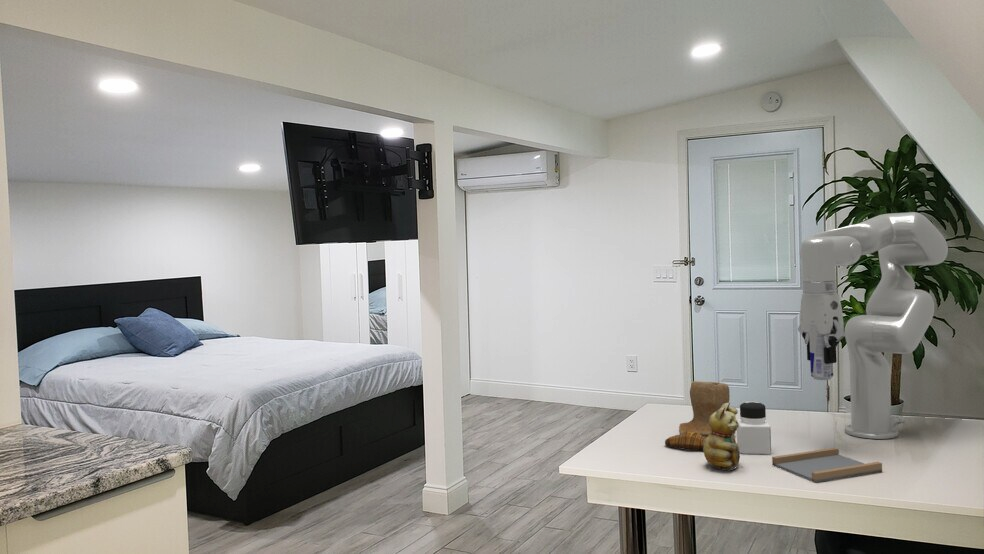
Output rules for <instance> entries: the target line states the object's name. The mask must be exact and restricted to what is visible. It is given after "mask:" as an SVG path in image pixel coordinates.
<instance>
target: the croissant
mask: <svg viewBox="0 0 984 554" xmlns="http://www.w3.org/2000/svg"><path fill="white" fill-rule="evenodd" d="M706 438H707V437H704V436H702V435H700V434H699V433H696V432H694V431H692V430H690V431H687V432H684V433H682V434H680V433H679V434H675V435H673V436H670V437H668V438H666V439H665V440H664V445H665V446H666V447H669V448H674V449H679V450H680V449H682V450H688V451H703V448H704V443H705V440H706Z"/></svg>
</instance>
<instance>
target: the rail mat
mask: <svg viewBox="0 0 984 554" xmlns="http://www.w3.org/2000/svg"><path fill="white" fill-rule="evenodd" d="M839 451H840V450H839V448H837V447H831V448H823V449H817V450H810V451H808V450H807V451H804V452H796V453H789V454H782V455H776V456H774V455H773V456H772V457H771V464H772V466H773V465H774V466H773V467H775V466H776V468H778V469H780V468H781V469H780V470H782V471H785V470H786V472H788V473H790V474H793V475H796V476H798V477H800V478H803V479H805V480H807V481H810V482H813V483H814V484H815V483H816V484H819V483H822V482H829V481H830V482H831V481H837V480H841V479H849V478H854V477H859V476H860V477H861V476H866V475H873V474H878V473H879V474H880V473H883V463H882V462H881V461H875V462H874V461H873V462H867V463H865V462H861V461H858V460H855V459H853V458H850V457H847V456H844V455H841V454H840V453H839Z"/></svg>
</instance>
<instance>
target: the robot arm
mask: <svg viewBox="0 0 984 554" xmlns="http://www.w3.org/2000/svg"><path fill="white" fill-rule="evenodd" d="M875 252H878V260H879V266H880V271H881V279H880V281H879V282H878V284H877V286H876V287H875V289H874V291H873V292H872V294H871V295H870V297H869V299H868V301H867V303H866V306H865V307H866V308H865V314H860V315H855V316H853V317H850V319H849V320H847V322H846V323H845V326H844V316H843V315H844V314H843V308H842V302H841V299H840V295H839V293H837V289H838V285H837V280H836V279H837V278H836V274H837V273H836V267H847V266H851V265H854V264H855V263H857V262H858V261H859V260H860V258H861V256H864V255H870V254H873V253H875ZM948 252H949V247H948V243H947V241H946V239H945V237H944V236H943V234H942V233H941V232H940V231H939V230H938V228H937V227H936V225H934V224H933V223H932V222H931V221H930V219H929V218H927V217H926V216H925V215H923V214H921V213H919V212H915V211H909V212H895V213H894V212H893V213H885V214H878V215H877V216H873V217H871V218H868V219H866V220H864V221H861V222H859V223H855V224H851V225H846V226H842V227H839V228H835V229H830V230H825V231H821V232H818V233H815V234H813V235H810V236H808V237H806V238H805V239H804V240H803V241H802V242H801V244H800V248H799V257H800V259H801V278H802V279H801V280H802V284H801V285H802V293H801V300H800V311H799V312H800V314H799V315H800V316H799V319H800V320H799V321H800V322H799V323H800V324H799V326H798V328H797V331H798V332H799V333H800V335H801V337H802V338H803V339H804V344H805V345H806V358H807V361H810V339H809V323H810V322H811V321H810V320H815V321H813V322H815V323H816V326H817V329H818V332H819V334H821V335H823V337H824V341H825V345H826V347H824V363H825V364H830V363H833V364H836V363H837V361H838V360H837V347H838V346H839V343H840V342H841V341H842V340H843V338H845V342H846V345H847V350H848V358H849V359H848V360H849V383H850V385H849V388H850V421H851V422H850V424H848V425H846V426H844V431H845V433H846V434H848V435H849V436H853V437H857V438H863V439H874V440H886V439H887V440H888V439H893V438H896V437H899V430H898V429H897V428H895V426H896V425H903V424H905V422H906V418H905V417H904V416H902V415H901V416H894V415H892V396H891V392H892V391H891V390H892V389H891V388H892V387H891V368H890V365H889V362H888V360H887V359H886V357H885V355H884V354H883V353H886V354H887V353H888V354H900V355H905V354H907V355H908V354H910V353H913V352H914V351H915V350H916V349H917V348H918V346H919V344H920V343H921V341H922V340H923V337H924V336H925V333H926V332H927V330H928V328H929V326H930V324H931V323H932V321H933V318H934V314H935V302H934V298H933V297H932V295H931V294H930V293H929V292H928V291H926V290H923V289H919V288H918V289H917V288H916V283H915V280H914V278H913V277H912V275H911V274H910V273H909V272H908V271H907V270H906V269H905V266H937V265H939V264H942V263H943V262H944V261H945V260H946V259H947V257H948V254H949V253H948ZM915 288H916V289H915ZM830 333H831V334H830ZM829 337H831V340H829Z"/></svg>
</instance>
